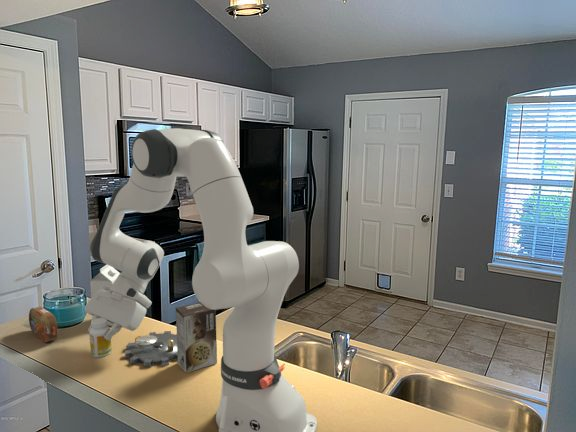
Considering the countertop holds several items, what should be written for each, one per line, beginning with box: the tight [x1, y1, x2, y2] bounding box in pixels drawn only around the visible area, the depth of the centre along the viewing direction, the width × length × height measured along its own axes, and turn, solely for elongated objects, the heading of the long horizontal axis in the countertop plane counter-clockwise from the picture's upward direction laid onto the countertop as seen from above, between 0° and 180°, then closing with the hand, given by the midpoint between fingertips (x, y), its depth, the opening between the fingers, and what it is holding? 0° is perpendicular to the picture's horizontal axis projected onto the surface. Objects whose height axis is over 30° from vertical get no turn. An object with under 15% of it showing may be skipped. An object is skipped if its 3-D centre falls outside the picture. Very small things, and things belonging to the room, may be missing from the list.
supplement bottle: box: [88, 318, 112, 358], centre depth 121 cm, size 5×5×10 cm
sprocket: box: [124, 330, 178, 368], centre depth 124 cm, size 18×18×4 cm
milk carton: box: [89, 264, 121, 327], centre depth 140 cm, size 7×7×19 cm
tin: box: [28, 306, 58, 343], centre depth 130 cm, size 15×3×8 cm, turn 50°
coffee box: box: [175, 301, 218, 374], centre depth 116 cm, size 9×6×16 cm
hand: (98, 336), depth 121 cm, fingers closed on supplement bottle, 5 cm apart
